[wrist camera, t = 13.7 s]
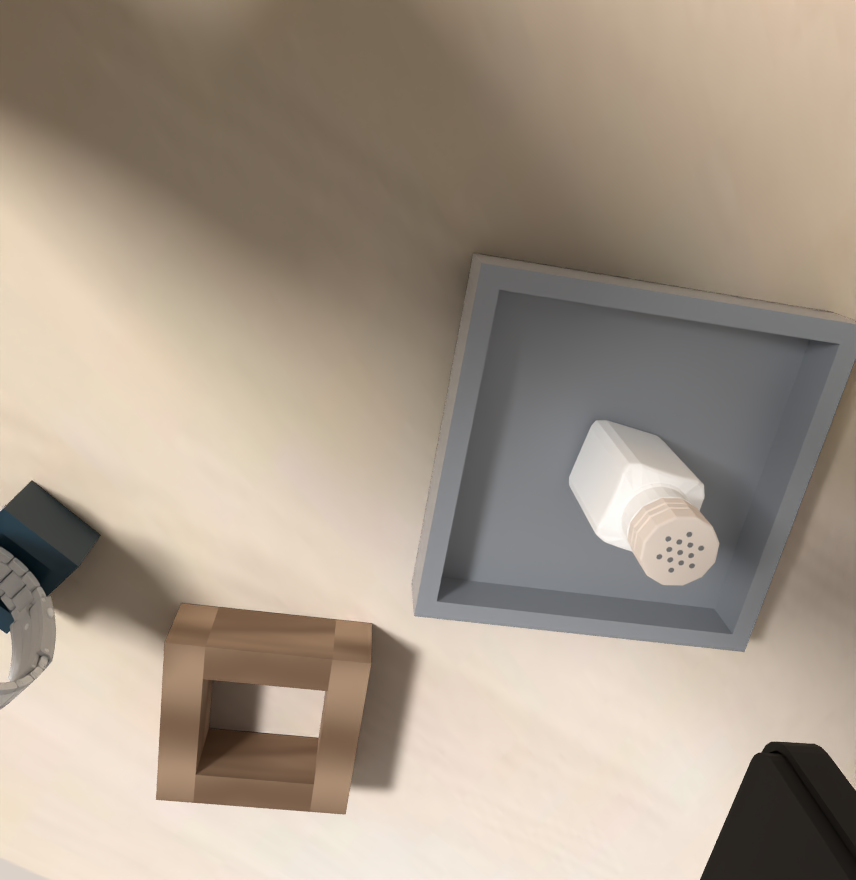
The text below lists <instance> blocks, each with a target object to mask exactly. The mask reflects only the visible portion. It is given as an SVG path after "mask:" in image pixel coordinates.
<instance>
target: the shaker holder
mask: <svg viewBox="0 0 856 880" xmlns="http://www.w3.org/2000/svg"><path fill="white" fill-rule="evenodd" d="M371 651H372V623H363V622H354V621H344V620H335V619H326V618H316V617H307V616H297V615H288V614H279V613H269V612H260V611H250V610H241V609H232V608H222V607H213V606H204V605H194V604H185V603H181V605H180V607H179V610H178V612H177V615H176V617H175V619H174V622H173V624H172V626H171V629H170V631H169V633H168V636H167V638H166V640H165V643H164V661H163V680H162V699H161V718H160V737H159V755H158V774H157V793H156V800H166V801H179V802H192V803H204V804H217V805H230V806H243V807H256V808H269V809H282V810H295V811H308V812H321V813H333V814H346V809H347V803H348V797H349V791H350V785H351V779H352V774H353V768H354V762H355V756H356V750H357V744H358V738H359V733H360V727H361V721H362V715H363V709H364V703H365V697H366V692H367V686H368V680H369V674H370V668H371ZM213 680H217V681H228V682H238V683H249V684H259V685H270V686H280V687H290V688H301V689H311V690H322V691H326V692H325V699H324V705H323V712H322V719H321V726H320V732H319V738H311V737H300V736H289V735H277V734H266V733H255V732H243V731H232V730H221V729H209V721H210V709H211V697H212V684H213Z"/></svg>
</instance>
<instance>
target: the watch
mask: <svg viewBox="0 0 856 880" xmlns="http://www.w3.org/2000/svg"><path fill="white" fill-rule="evenodd" d="M100 536H101V535H100V534H98V533H97V532H96V531H95V530H93V529H92V528H91V527H90V526H88V525H87V524H86V523H85V522H83V521H82V520H81V519H80V518H78V517H77V516H76V515H74V514H73V513H72V512H71V511H69V510H68V509H67V508H66V507H64V506H63V505H62V504H61V503H59V502H58V501H57V500H56V499H54V498H53V497H52V496H51V495H49V494H48V493H47V492H46V491H44V490H43V489H42V488H41V487H39V486H38V485H37V484H36V483H34V482H33V481H31V482H30V483H29V484H28V485H27V486H26V487H25V488H24V489H23V490H22V491H21V492H19V493H18V494H17V495H16V496H15V497H14V498H13V499H12V500H11V501H10V502H9V503H8V504H7V505H5V506H4V507H3V508H2V509H1V510H0V629H1V630H2V631H4V632H5V633H6V634H7V633H8V632H9V631H10V632H11V640H12V660H11V667H10V672H9V677H8V678H9V680H10V682H6V683H0V709H2V708H3V707H5V706H6V705H7V704H9V703H10V702H11V701H12V700H13V699H14V698H15V697H16V696H18V695H19V694H20V693H21V692H22V691H23V690H24V689H25V688H26V687H28V686H29V685H30V684H31V683H32V682H33V681H34V680H35V679H36V678H37V677H38V676H39V675H40V674H41V673H42V672H43V671H44V670H45V669H46V668H47V666H48V665H49V664H50V663H51V662H52V659H53V654H54V648H55V639H56V624H55V615H54V609H53V603H52V599H51V596H48V595H49V594H50V593H51V592H52V591H53V590H54V589H55V588H56V587H57V586H58V585H60V584H61V583H62V582H63V581H64V580H65V579H66V578H67V577H68V576H69V575H70V574H71V573H72V572H73V571H75V570H76V569H77V568H78V567H79V565H80V564H81V563H82V561H83V560H84V558H85V557H86V555H87V554H88V553H89V551H90V550H91V548H92V547H93V545H94V544H95V543H96V541H97V540H98V538H99V537H100ZM47 596H48V597H47Z"/></svg>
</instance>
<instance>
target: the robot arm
mask: <svg viewBox="0 0 856 880" xmlns="http://www.w3.org/2000/svg"><path fill="white" fill-rule="evenodd" d="M700 880H856V791H855V789H854V788H853V787H852V785H851V784H850V783H849V781H848V780H847V779H846V777H845V776H844V775H843V773H842V772H841V771H840V769H839V768H838V767H837V765H836V764H835V763H834V761H833V760H832V759H831V757H830V756H829V755H828V753H827V752H826V751H825V750H824V749H823V748H822V747H820V746H818V745H816V744H806V743H789V742H770V743H769V744H767V745H766V746H765V747H764V749H763V751H762V752H761V753H757V754H756V755H754V757H753V758H752V760H751V762H750V764H749V767H748V769H747V771H746V774H745V776H744V778H743V781H742V783H741V785H740V788H739V790H738V792H737V795H736V797H735V799H734V802H733V804H732V806H731V809H730V811H729V813H728V816H727V818H726V820H725V823H724V825H723V827H722V830H721V832H720V834H719V837H718V839H717V841H716V844H715V846H714V848H713V851H712V853H711V855H710V858H709V860H708V862H707V865H706V867H705V869H704V872H703V874H702V876H701V879H700Z"/></svg>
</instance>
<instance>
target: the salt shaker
mask: <svg viewBox="0 0 856 880" xmlns="http://www.w3.org/2000/svg"><path fill="white" fill-rule="evenodd" d="M569 486H570V488H571V490H572V492H573V493H574V495H575V497H576V499H577V501H578V503H579V504H580V506H581V508H582V510H583V512H584V514H585V516H586V517H587V519H588V521H589V523H590V525H591V527H592V528H593V530H594V532H595V534H596V535H597V536H598V537H599V538H600V539H601V540H603V541H604V542H606V543H608V544H611V545H614V546H617V547H619V548H622V549H625V550H629V551H632V552H633V554H634V555H635V557H636V559H637V560H638V562H639V564H640V565H641V567H642V569H643V570H644V572H645V573H646V575H647V576H648V577H650V578H652V579H653V580H655V581H657V582H658V583H660V584H662V585H681V586H683V585H685V584H688V583H690V582H692V581H694V580H697V579H699V578H701V577H703V575H704V574H705V573H706V572H707V571H708V570H709V569H710V567H711V566H712V565H713V564H714V563H715V561H716V557H717V552H718V548H719V541H718V538H717V536H716V533H715V531H714V528H713V526H712V525H711V524H710V523H709V522H708V521H707V519H705V517H704V516H703V515H702V514H701V512H700V508H701V505H702V503H703V500H704V497H705V494H704V484H703V483H702V482H701V481H700V480H699V479H698V478H697V477H696V476H695V475H694V474H693V472H692V471H691V470H690V469H689V468H688V467H687V466H686V465H685V464H684V463H683V462H682V461H681V460H680V458H679V457H678V456H677V455H676V454H675V453H674V452H673V451H672V450H671V449H670V448H669V447H668V446H667V444H666V443H665V442H664V441H663V440H662V439H660V438H659V437H658V436H657V435H654V434H650V433H647V432H644V431H641V430H637V429H634V428H631V427H627V426H624V425H621V424H618V423H614V422H611V421H608V420H596V421H595V422H594V423H593V424H592V425H591V427H590V430H589V432H588V434H587V437H586V439H585V441H584V444H583V446H582V448H581V450H580V453H579V455H578V457H577V460H576V462H575V464H574V467H573V469H572V471H571V474H570V476H569Z"/></svg>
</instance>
